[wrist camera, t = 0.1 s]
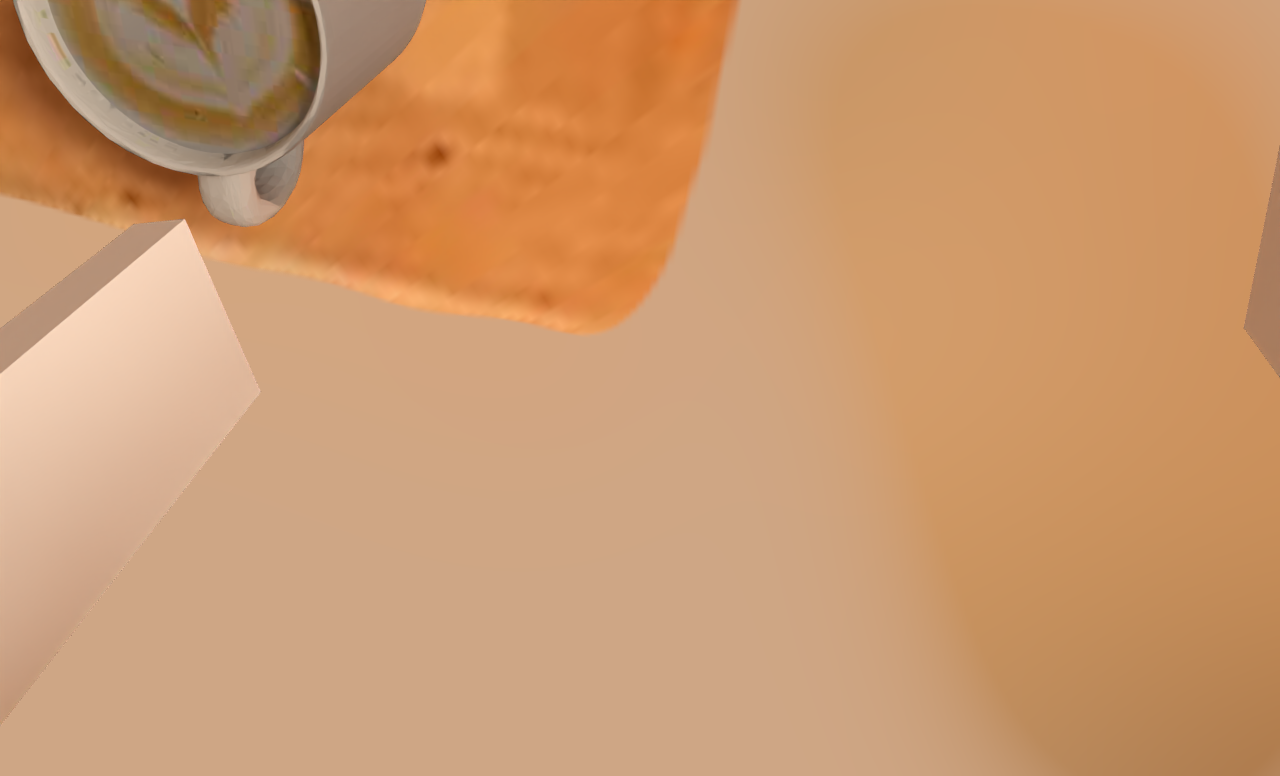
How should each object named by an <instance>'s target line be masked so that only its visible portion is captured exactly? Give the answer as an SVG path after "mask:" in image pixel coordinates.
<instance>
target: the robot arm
mask: <svg viewBox="0 0 1280 776" xmlns="http://www.w3.org/2000/svg"><path fill="white" fill-rule="evenodd" d="M1244 329H1245V330H1246V332H1247V333H1248V334H1249V336H1250V337H1251V339H1252V340H1253V341H1254V343H1255V344H1256V345H1257V347H1258V348H1259V350H1260V351H1261V352H1262V354H1263V355H1264V357H1265V358H1266V359H1267V361H1268V362H1269V363H1270V365H1271V366H1272V368H1273V369H1274V370H1275V372H1276V373H1277V375H1278V376H1279V377H1280V148H1279V152H1278V158H1277V163H1276V168H1275V173H1274V178H1273V183H1272V188H1271V193H1270V198H1269V203H1268V209H1267V213H1266V219H1265V224H1264V229H1263V234H1262V239H1261V244H1260V249H1259V254H1258V259H1257V264H1256V269H1255V274H1254V279H1253V284H1252V290H1251V294H1250V299H1249V305H1248V309H1247V314H1246V320H1245V325H1244ZM260 392H261V391H260V389H259V387H258V385H257V382H256V380H255V378H254V376H253V373H252V372H251V369H250V366H249V364H248V362H247V360H246V357H245V355H244V353H243V351H242V348H241V346H240V344H239V341H238V339H237V337H236V335H235V332H234V330H233V328H232V325H231V323H230V321H229V319H228V316H227V314H226V312H225V310H224V307H223V305H222V303H221V300H220V298H219V296H218V294H217V291H216V289H215V287H214V284H213V282H212V280H211V278H210V275H209V273H208V271H207V268H206V266H205V264H204V262H203V259H202V257H201V255H200V252H199V250H198V248H197V246H196V243H195V241H194V239H193V237H192V234H191V232H190V230H189V227H188V225H187V223H186V221H185V219H180V220H170V221H160V222H151V223H141V224H133V225H132V226H131V227H129V228H128V229H127V230H125V231H124V232H123V233H122V234H120V235H119V236H118V237H117V238H115V239H114V240H113V241H111V242H110V243H109V244H108V245H106V246H105V247H104V248H103V249H101V250H100V251H99V252H97V253H96V254H95V255H94V256H92V257H91V258H90V259H88V260H87V261H86V262H85V263H83V264H82V265H81V266H80V267H78V268H77V269H76V270H74V271H73V272H72V273H71V274H69V275H68V276H67V277H65V278H64V279H63V280H62V281H61V282H59V283H58V284H57V285H55V286H54V287H53V288H51V289H50V290H49V291H48V292H46V293H45V294H44V295H42V296H41V297H40V298H39V299H37V300H36V301H35V302H33V303H32V304H31V305H30V306H29V307H27V308H26V309H25V310H23V311H22V312H21V313H20V314H18V315H17V316H16V317H14V318H13V319H12V320H11V321H9V322H8V323H7V324H5V325H4V326H3V327H2V328H0V726H1V724H2V723H3V722H4V721H5V719H6V718H7V717H8V715H9V714H10V713H11V712H12V710H13V709H14V708H15V706H16V705H17V704H18V703H19V701H20V700H21V699H22V697H23V696H24V695H25V694H26V692H27V691H28V690H29V689H30V687H31V686H32V685H33V683H34V682H35V681H36V679H37V678H38V677H39V676H40V674H41V673H42V672H43V671H44V669H45V668H46V667H47V665H48V664H49V663H50V662H51V660H52V659H53V658H54V656H55V655H56V654H57V653H58V651H59V650H60V649H61V647H62V646H63V645H64V644H65V642H66V641H67V640H68V639H69V637H70V636H71V635H72V633H73V632H74V631H75V629H76V628H77V627H78V626H79V624H80V623H81V622H82V621H83V619H84V618H85V616H86V615H87V614H88V613H89V612H90V610H91V609H92V608H93V606H94V605H95V604H96V603H97V601H98V600H99V599H100V597H101V596H102V595H103V594H104V592H105V591H106V590H107V588H108V587H109V586H110V585H111V583H112V582H113V580H115V578H116V577H117V576H118V574H119V573H120V572H121V571H122V569H123V568H124V567H125V565H126V564H127V563H128V562H129V560H130V559H131V558H132V556H133V555H134V554H135V553H136V551H137V550H138V549H139V547H140V546H141V545H142V544H143V542H144V541H145V540H146V538H147V537H148V536H149V535H150V533H151V532H152V531H153V529H154V528H155V527H156V525H157V524H158V523H159V522H160V520H161V519H162V518H163V517H164V515H165V514H166V513H167V512H168V510H169V509H170V508H171V506H172V505H173V504H174V502H175V501H176V500H177V499H178V497H179V496H180V495H181V493H182V492H183V491H184V490H185V488H186V487H187V486H188V485H189V483H190V482H191V481H192V479H193V478H194V477H195V476H196V474H197V473H198V472H199V471H200V469H201V468H202V467H203V465H204V464H205V463H206V462H207V460H208V459H209V458H210V456H211V455H212V454H213V453H214V451H215V450H216V449H217V447H218V446H219V445H220V444H221V442H222V441H223V440H224V438H225V437H226V436H227V435H228V433H229V432H230V431H231V429H232V428H233V427H234V425H235V424H236V423H237V422H238V420H239V419H240V418H241V416H242V415H243V414H244V413H245V411H246V410H247V409H248V408H249V406H250V405H251V404H252V403H253V401H254V400H255V399H256V397H257V396H258V395H259V394H260Z"/></svg>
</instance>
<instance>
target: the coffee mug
mask: <svg viewBox="0 0 1280 776" xmlns="http://www.w3.org/2000/svg"><path fill="white" fill-rule="evenodd" d="M13 2H14V6H15V9H16V12H17V15H18V18H19V20H20V23H21V26H22V29H23V31H24V34H25V37H26V39H27V41H28V43H29V45H30V47H31V49H32V50H33V52H34V54H35V56H36V58H37V59H38V61H39V63H40V65H41V67H42V68H43V70H44V71H45V73H46V74H47V76H48V77H49V79H50V80H51V81H52V82H53V84H54V85H55V86H56V88H57V89H58V90H59V91H60V92H61V94H62V95H63V96H64V97H65V98H66V100H67V101H68V102H69V103H70V104H71V106H72V107H73V108H74V109H75V110H76V111H77V112H78V113H79V114H80V115H81V116H82V117H83V118H84V119H85V120H87V121H88V122H89V123H90V124H91V125H93V126H94V127H95V128H96V129H97V130H99V131H100V132H101V133H102V134H103V135H105V136H106V137H107V138H108V139H110V140H111V141H113V142H114V143H116V144H117V145H119V146H121V147H122V148H124V149H125V150H127V151H129V152H131V153H133V154H135V155H137V156H139V157H141V158H143V159H145V160H147V161H149V162H152V163H154V164H157V165H160V166H163V167H166V168H169V169H172V170H175V171H179V172H184V173H189V174H194V175H198V182H199V190H200V193H201V196H202V200H203V203H204V204H205V206H206V207H207V209H208V211H209V212H210V213H211V215H212V216H214V217H215V218H217V219H218V220H220V221H222V222H225V223H228V224H231V225H237V226H242V227H248V226H256V225H260V224H262V223H263V222H265V221H267V220H268V219H270V218H272V217H273V216H274V215H275V214H276V213H277V212H278V211H279V210H280V209H281V208H282V207H283V206H284V204H285V203H286V201H287V200H288V198H289V196H290V195H291V193H292V191H293V190H294V188H295V186H296V183H297V180H298V177H299V174H300V170H301V165H302V159H303V150H304V139H305V138H307V137H308V136H309V135H310V134H311V133H312V132H313V131H314V130H316V129H317V128H318V127H319V126H320V125H321V124H322V123H324V122H325V121H326V120H327V119H328V118H329V117H330V116H331V115H333V114H334V113H335V112H336V111H337V110H338V109H339V108H341V107H342V106H343V105H344V104H345V103H346V102H347V101H348V100H350V99H351V98H352V97H353V96H354V95H355V94H356V93H358V92H359V91H360V90H361V89H362V88H363V87H364V86H365V85H367V84H368V83H369V82H370V81H371V80H372V79H373V78H375V77H376V76H377V75H378V74H379V73H380V72H381V71H382V70H384V69H385V68H386V67H387V66H388V65H389V64H390V63H392V62H393V61H394V60H395V59H396V58H397V57H398V56H399V55H400V54H401V53H402V51H403V50H404V49H405V48H406V46H407V45H408V43H409V42H410V40H411V39H412V37H413V35H414V34H415V32H416V30H417V27H418V25H419V23H420V20H421V16H422V13H423V10H424V6H425V3H426V0H13Z"/></svg>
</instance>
